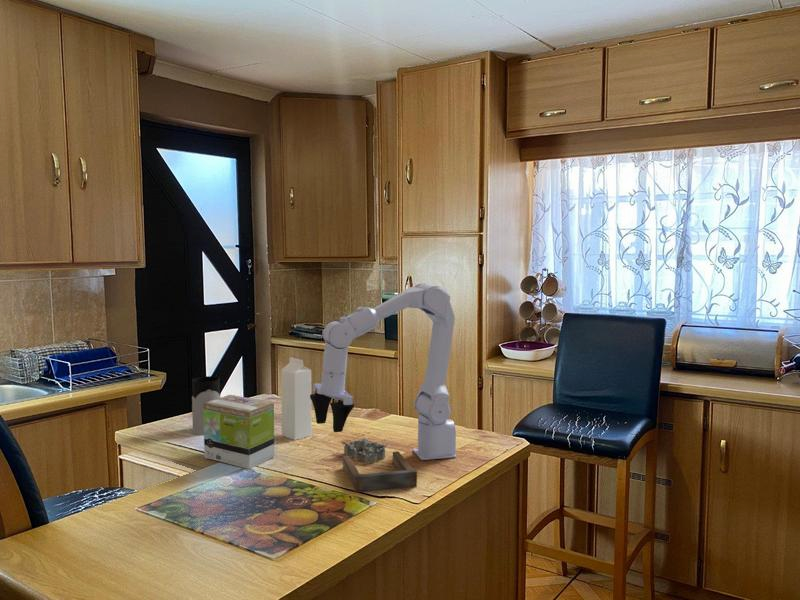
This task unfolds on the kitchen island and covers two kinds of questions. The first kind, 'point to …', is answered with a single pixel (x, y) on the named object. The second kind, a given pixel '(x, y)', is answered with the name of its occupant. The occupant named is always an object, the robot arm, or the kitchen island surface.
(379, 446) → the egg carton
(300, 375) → the milk
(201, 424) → the glass holder
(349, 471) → the dock
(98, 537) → the kitchen island surface
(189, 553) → the kitchen island surface
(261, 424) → the tea box
